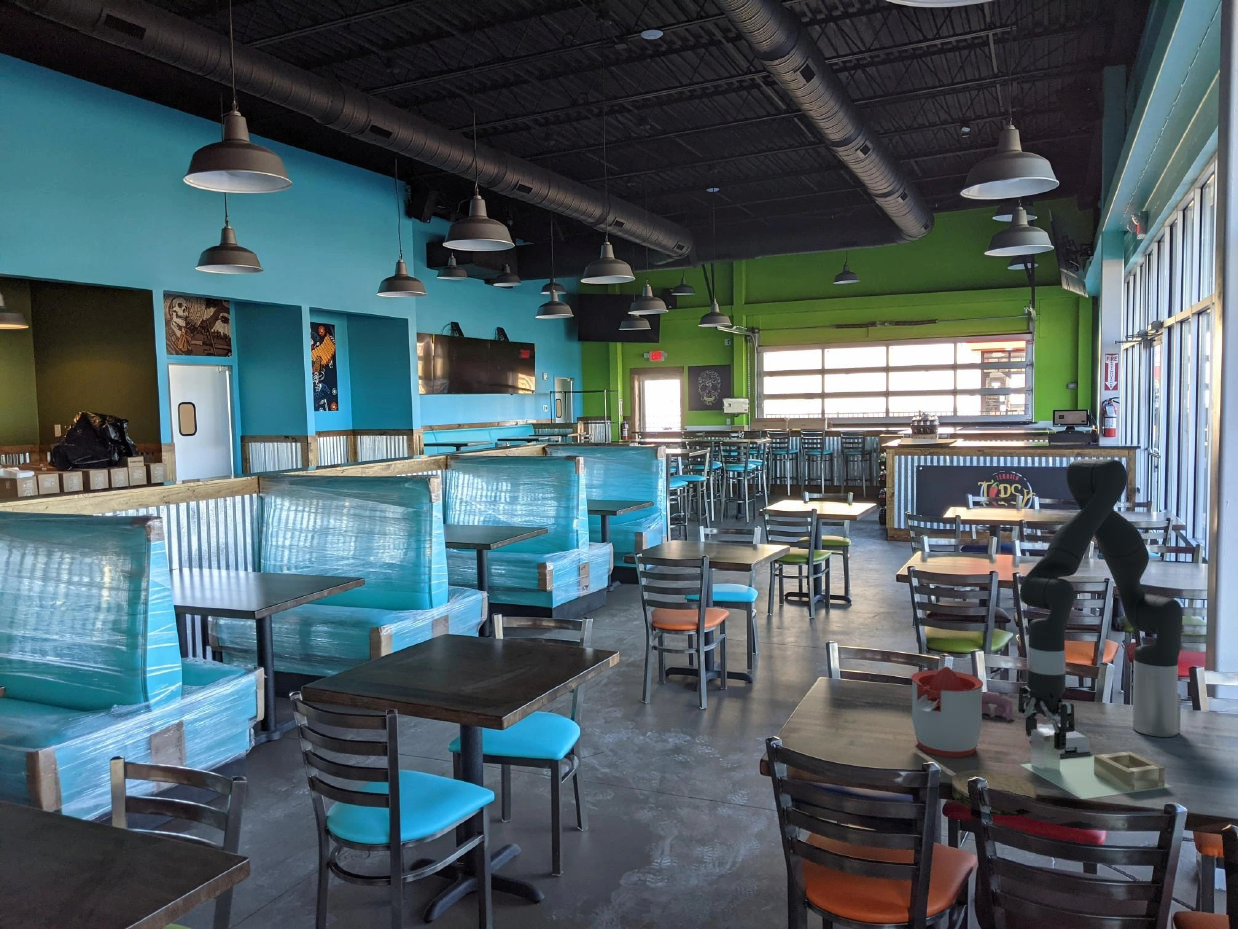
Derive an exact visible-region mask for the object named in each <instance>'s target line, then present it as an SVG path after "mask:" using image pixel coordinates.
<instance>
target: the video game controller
mask: <svg viewBox="0 0 1238 929" xmlns="http://www.w3.org/2000/svg"><path fill="white" fill-rule="evenodd" d="M990 704H991V705H994V706H995V705H996V706H995V707H994V708H993V712H994V714H995V716H997V717H1001V716H1003V715H1004V716H1005V720H1006V721H1007V722H1009V721H1011V719H1012V715H1013V714H1012V713H1013V707H1014V706H1013V701H1012V700H1011V699H1010V698H1009V697H1008V696H1006V695H1004V694H1001V693H999V692H995V691H984V692H983V691H982V714H984V715H988V714H990V713H991V707H990Z"/></svg>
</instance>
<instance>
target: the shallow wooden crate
mask: <svg viewBox="0 0 1238 929" xmlns="http://www.w3.org/2000/svg"><path fill="white" fill-rule="evenodd" d="M1093 756H1094V755H1093ZM1165 769H1166V768H1165V766H1162V765H1160V764H1158V763H1155V762H1154V761H1151V760H1149V759H1148V758H1145V757H1142V756H1141V755H1138V754H1136V753H1134V752H1132V751H1123V752H1122V751H1119V752H1113V753H1106V754H1104V755H1102V754H1096V756H1094V774H1095V775H1097V776H1099V777H1100V778H1102V779H1104V780H1106V781H1108V782H1110V783H1112V784H1114V785H1116V786H1118V787H1120V788H1122V789H1124V790H1126V791H1135V790H1143V789H1150V788H1157V787H1164V783H1165V778H1166V777H1165V775H1166V774H1165V771H1166V770H1165Z"/></svg>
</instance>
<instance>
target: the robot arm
mask: <svg viewBox="0 0 1238 929" xmlns="http://www.w3.org/2000/svg"><path fill="white" fill-rule="evenodd" d="M1065 475H1066V477H1065V478H1066V483H1067V486H1068V490H1069V492H1070V494H1071V496H1072V498H1073V499H1074V501H1075V503H1076V504H1077V506H1078V508H1079V509H1080V511H1078V512H1077V513H1076V514H1075V515H1073V517H1071V518H1070V519H1068V520H1067V521H1066V522H1065V523H1063V524H1062V525H1061V526H1060V527H1059V528H1058V529H1057V530H1056V531H1055V533H1054V535H1053V536H1052V539H1051V540H1050V543H1049V545H1048V547H1047V549H1046V551H1045V553H1044V556H1043V557H1042V558H1041V559H1040V560H1039V561H1038V562H1037V563H1036V564H1035V565H1034V566H1033V568H1031V569H1030V570H1029V572H1027V574H1026V575H1025V577H1024V579H1023V580H1022V582H1021V584H1020V588H1019V594H1020V598H1021V600H1022V602H1023V604H1025V605H1027V606H1029V607H1031V608H1035V609H1043V610H1047V611H1049V615H1048V617H1047V618H1034V619H1032V620H1031V621H1030V622H1029V624H1028V647H1027V648H1028V649H1027V656H1026V685H1025V686H1024V685H1023V686H1019V689H1018V708H1017V709H1018V713H1019V714H1023V717H1024V718H1025V733H1026V735H1027V736H1028V737H1029V736H1031V730H1032V729H1037V724H1038V718H1037V716H1038V715H1039V714H1041V715H1042V716H1044V717H1046V718H1047V721H1048V723H1050V724H1052V725H1053V728H1054V730H1055V732H1054V748H1055V749H1057V750H1063V749H1065V747H1066V733H1067V732H1074V731H1076V730H1075V728H1076V727H1075V726H1076V725H1075V705H1074V703H1072V702H1069V703H1068V702H1067V703H1066V702H1064V701H1063V698H1062V695H1063V694H1064V693H1065V691H1066V677H1067V676H1066V672H1067V670H1066V668H1067V667H1066V664H1067V663H1066V662H1067V660H1066V658H1067V657H1066V653H1065V652H1066V651H1065V649H1066V641H1065V640H1066V639H1065V638H1066V629H1067V625H1068V621H1069V617H1070V614H1071V611H1072V608H1073V607H1074V606H1073V605H1074V603H1075V597H1076V593H1075V592H1076V591H1075V589H1074V587H1073V585H1072V583H1071V582H1070V581H1069V580H1067V579H1064V578H1066V577H1071V576H1074V575H1075V574H1076V573H1077V571H1078V570H1079V567H1080V566H1081V563H1082V560H1083V559H1084V556H1085V553H1087V552H1086V551H1087V549H1088V547H1089V545H1090V543H1091V541H1092V540H1093V537H1095V540H1096V542H1097V545H1098V547H1099V548H1098V549H1099V550H1100V553H1101V554H1102V557H1103V559H1104V562H1105V564H1106V565H1107V568H1108V570H1109V571H1110V572H1109V573H1110V574H1111V576H1112V579H1113V582H1114V584H1115V586H1116V589H1117V591H1118V596H1119V599H1120V602H1121V605H1122V609H1123V612H1124V616H1125V619H1126V621H1127V622H1128V624H1129V625H1130V627H1131V628H1132V629H1134V630H1136V631H1138V632H1144V633H1148V634H1153V635H1156V636H1155V638H1156V639H1155V642H1154V643H1151V644H1143V645H1140V646H1136V647H1135V648H1134V649H1133V682H1132V683H1133V684H1132V686H1133V688H1132V689H1133V690H1132V691H1133V692H1132V694H1133V695H1132V728H1133V730H1134V731H1137V732H1138V733H1141V734H1145V735H1147V736H1152V737H1157V738H1158V737H1161V738H1170V737H1171V738H1172V737H1175V736H1177V735H1178V734H1180V733H1181V718H1182V717H1181V714H1182V713H1181V710H1182V709H1181V707H1182V705H1181V704H1182V696H1181V694H1180V693H1179V692H1178V691H1179V690H1178V689H1179V688H1178V687H1179V686H1178V682H1179V680H1178V679H1179V656H1180V653H1181V648H1182V646H1181V643H1182V630H1183V618H1184V617H1183V608H1182V605H1181V604H1180V602H1179V601H1178V599H1177V600H1176V599H1175V598H1170V597H1165V596H1158V595H1153V594H1148V593H1147V592H1145V591H1144V589H1143V587H1142V584H1141V580H1142V577H1143V575H1144V573H1145V571H1146V570H1147V567H1148V566H1149V561H1150V553H1149V551H1148V548H1147V546H1146V543H1145V541H1144V538H1143V536H1142V534H1141V532H1140V530H1139V529H1138V528H1137V527H1136V526H1135V525H1134V524H1133V523H1131V522H1130V521H1129V520H1128V519H1127V518H1125V517H1124V516H1122V515H1121V514H1120V513H1118V512H1117V510H1115V509H1114V507H1115V506H1116V504H1117V503H1118V502H1119V501H1120V499H1121V497H1122V495H1123V493H1124V492H1125V490H1126V486H1127V482H1128V473H1127V469H1126V467H1125V465H1124V464H1123V463H1122V462H1121V461H1120V460H1117V459H1112V458H1081V459H1075V460H1073V461H1071V462H1070V464H1068V466H1067V469H1066V474H1065ZM1057 715H1058V716H1057ZM1067 722H1068V723H1067ZM1058 724H1060V725H1061V727H1059V725H1058Z"/></svg>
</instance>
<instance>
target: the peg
mask: <svg viewBox="0 0 1238 929" xmlns="http://www.w3.org/2000/svg"><path fill="white" fill-rule="evenodd" d="M1054 732H1055V731H1053V730H1051V729H1048V728H1041V729H1032V730H1031V741H1030V743H1031V744H1030V761H1031V762H1030V763H1031V766H1033V767H1035V768H1037V769H1038V770H1040V771H1042V772H1044V773H1045V772H1053V771H1060V760H1061V754H1060V750H1057V749H1055V748H1054Z"/></svg>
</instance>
